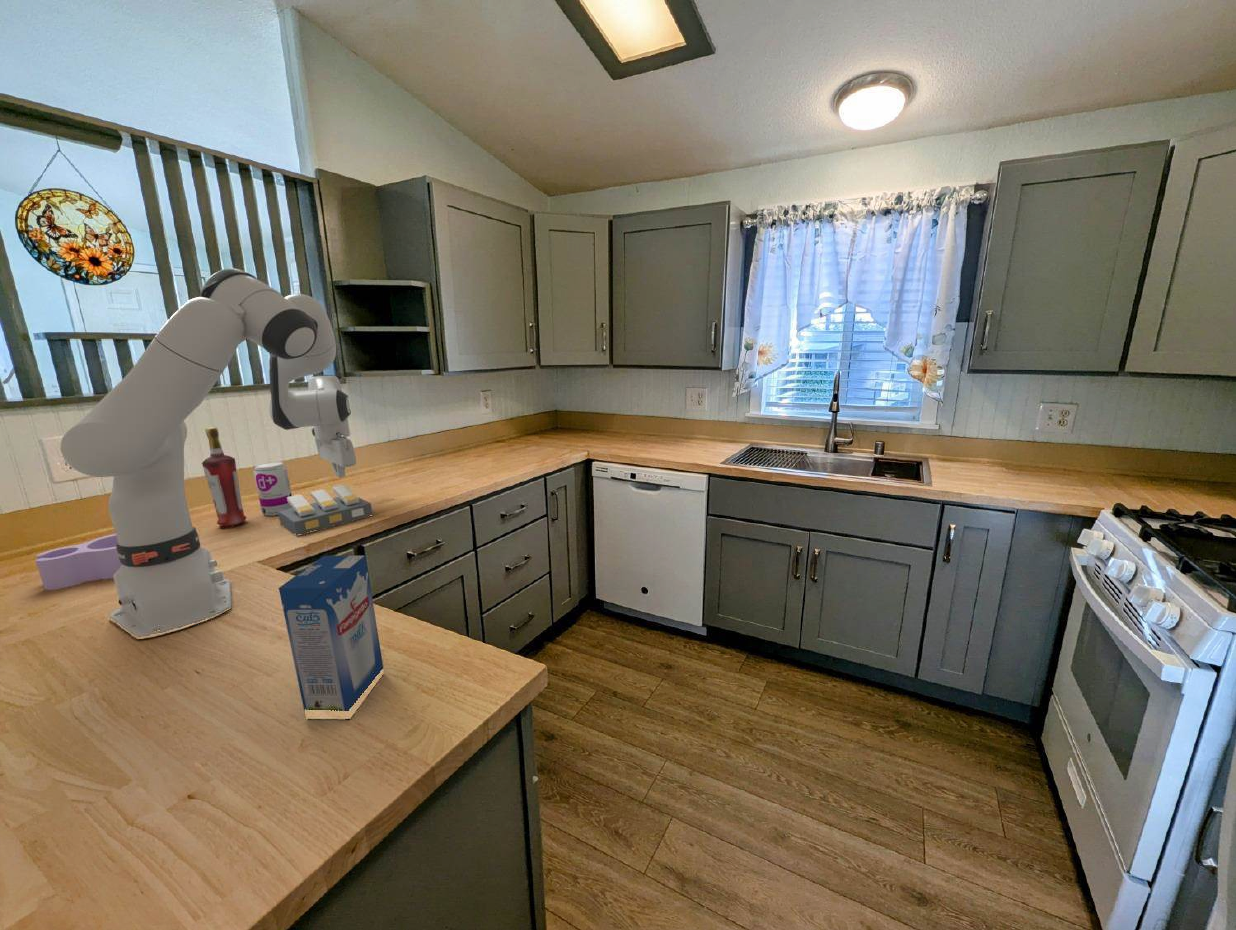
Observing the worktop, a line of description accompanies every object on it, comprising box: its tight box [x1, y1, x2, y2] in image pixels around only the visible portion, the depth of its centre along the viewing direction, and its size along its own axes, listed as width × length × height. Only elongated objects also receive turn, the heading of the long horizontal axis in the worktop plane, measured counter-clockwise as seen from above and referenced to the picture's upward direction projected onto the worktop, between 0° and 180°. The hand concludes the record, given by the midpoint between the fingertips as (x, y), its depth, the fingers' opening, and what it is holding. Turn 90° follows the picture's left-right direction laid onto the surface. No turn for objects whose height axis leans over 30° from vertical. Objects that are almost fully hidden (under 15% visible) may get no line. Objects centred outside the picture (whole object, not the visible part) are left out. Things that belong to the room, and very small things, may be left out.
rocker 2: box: [310, 488, 338, 511], centre depth 147 cm, size 10×4×1 cm, turn 48°
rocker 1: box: [287, 494, 314, 517], centre depth 142 cm, size 10×4×1 cm, turn 48°
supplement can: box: [253, 461, 293, 517], centre depth 154 cm, size 8×8×15 cm
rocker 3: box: [332, 484, 360, 505], centre depth 151 cm, size 10×4×1 cm, turn 49°
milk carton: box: [278, 554, 384, 711], centre depth 72 cm, size 10×6×20 cm, turn 178°
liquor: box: [201, 427, 248, 528], centre depth 143 cm, size 7×7×28 cm
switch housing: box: [278, 496, 373, 536], centre depth 148 cm, size 14×20×5 cm
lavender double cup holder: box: [35, 533, 122, 591], centre depth 117 cm, size 20×12×7 cm, turn 136°
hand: (340, 476), depth 152 cm, fingers closed
